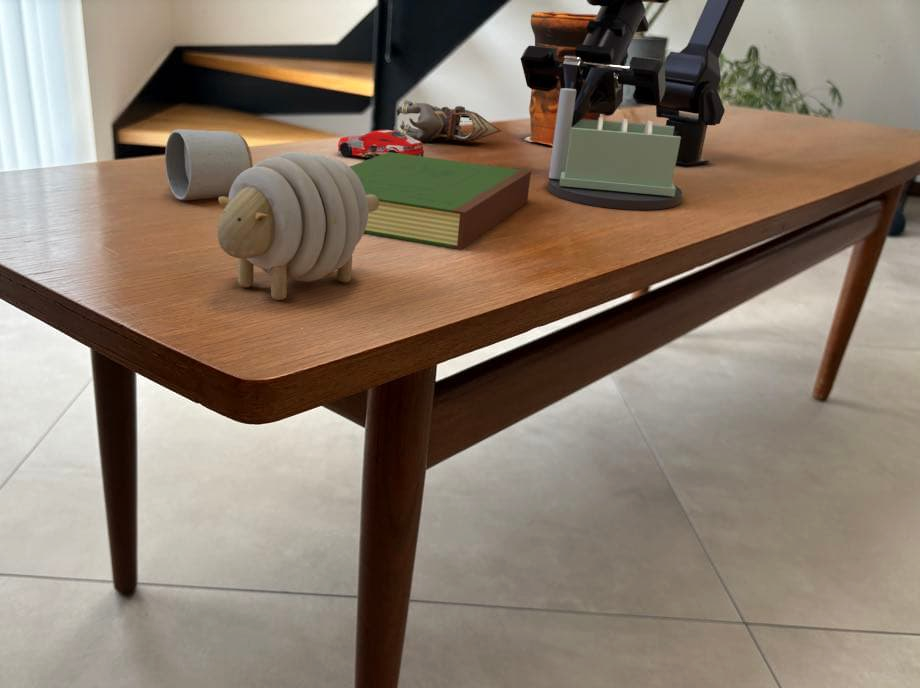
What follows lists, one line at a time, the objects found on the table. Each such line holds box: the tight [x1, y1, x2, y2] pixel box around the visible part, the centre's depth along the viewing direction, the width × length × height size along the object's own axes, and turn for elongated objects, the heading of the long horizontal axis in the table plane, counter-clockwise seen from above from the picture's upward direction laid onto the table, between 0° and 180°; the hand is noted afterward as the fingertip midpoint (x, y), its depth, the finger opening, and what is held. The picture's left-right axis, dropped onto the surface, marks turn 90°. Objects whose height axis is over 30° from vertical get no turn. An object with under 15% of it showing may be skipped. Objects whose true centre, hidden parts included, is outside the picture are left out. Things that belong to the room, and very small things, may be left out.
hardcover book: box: [349, 152, 532, 250], centre depth 101 cm, size 25×19×4 cm
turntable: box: [547, 177, 683, 211], centre depth 114 cm, size 17×17×1 cm
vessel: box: [524, 11, 601, 147], centre depth 145 cm, size 14×14×20 cm
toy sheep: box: [216, 150, 379, 301], centre depth 74 cm, size 11×17×11 cm, turn 140°
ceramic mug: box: [164, 128, 254, 201], centre depth 102 cm, size 11×8×8 cm
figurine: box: [393, 99, 502, 143], centre depth 144 cm, size 20×6×17 cm
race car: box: [337, 129, 425, 159], centre depth 127 cm, size 13×5×4 cm, turn 60°
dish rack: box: [548, 88, 681, 197], centre depth 112 cm, size 16×10×11 cm, turn 78°
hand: (567, 124), depth 114 cm, fingers closed
